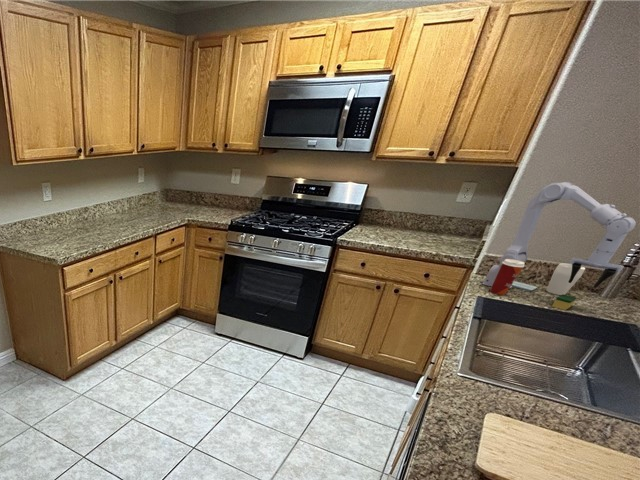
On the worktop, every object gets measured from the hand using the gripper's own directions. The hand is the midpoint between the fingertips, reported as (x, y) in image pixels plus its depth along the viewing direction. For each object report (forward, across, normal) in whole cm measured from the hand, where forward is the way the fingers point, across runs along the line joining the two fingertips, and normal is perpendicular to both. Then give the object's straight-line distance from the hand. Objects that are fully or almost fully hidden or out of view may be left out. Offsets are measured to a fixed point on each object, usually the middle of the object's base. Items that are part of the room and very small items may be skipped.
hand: (582, 284), depth 166 cm
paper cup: (+10, -24, -1) cm, 26 cm away
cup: (+10, -4, +20) cm, 22 cm away
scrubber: (+10, -2, -2) cm, 10 cm away
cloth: (+10, -16, +18) cm, 26 cm away
